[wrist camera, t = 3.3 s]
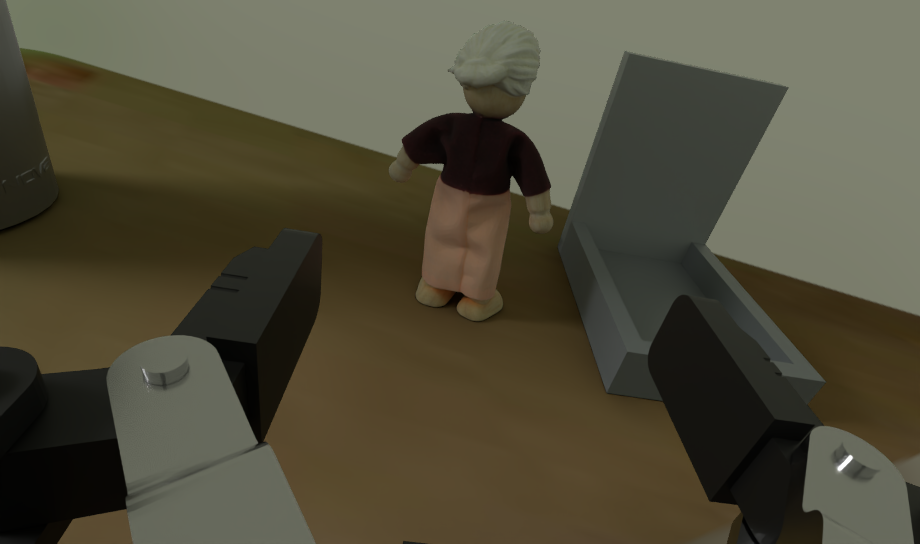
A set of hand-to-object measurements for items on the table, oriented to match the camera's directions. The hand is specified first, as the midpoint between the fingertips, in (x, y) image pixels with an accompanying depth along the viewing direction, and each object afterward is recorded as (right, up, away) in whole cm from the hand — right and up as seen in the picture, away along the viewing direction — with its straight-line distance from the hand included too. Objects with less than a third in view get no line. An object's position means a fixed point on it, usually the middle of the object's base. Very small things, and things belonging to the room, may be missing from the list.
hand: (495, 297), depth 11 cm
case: (+10, -2, +15) cm, 18 cm away
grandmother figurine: (-2, -1, +14) cm, 14 cm away
